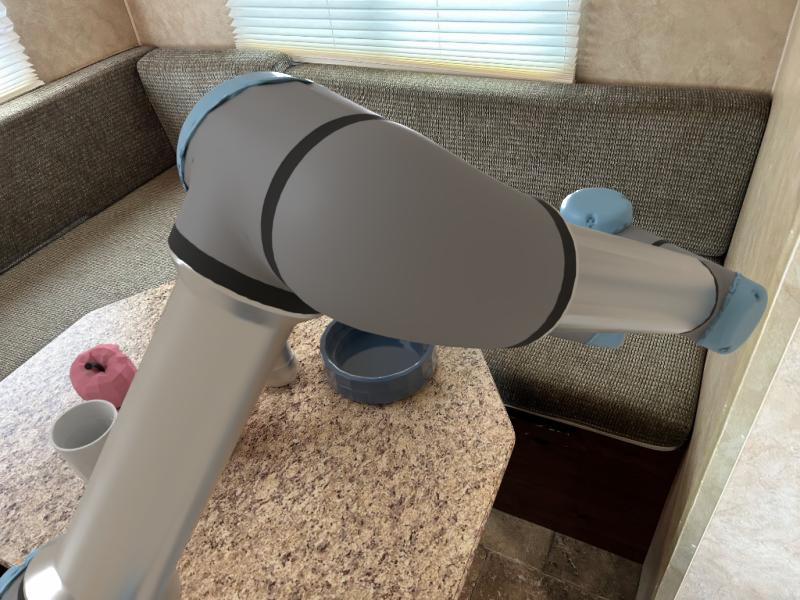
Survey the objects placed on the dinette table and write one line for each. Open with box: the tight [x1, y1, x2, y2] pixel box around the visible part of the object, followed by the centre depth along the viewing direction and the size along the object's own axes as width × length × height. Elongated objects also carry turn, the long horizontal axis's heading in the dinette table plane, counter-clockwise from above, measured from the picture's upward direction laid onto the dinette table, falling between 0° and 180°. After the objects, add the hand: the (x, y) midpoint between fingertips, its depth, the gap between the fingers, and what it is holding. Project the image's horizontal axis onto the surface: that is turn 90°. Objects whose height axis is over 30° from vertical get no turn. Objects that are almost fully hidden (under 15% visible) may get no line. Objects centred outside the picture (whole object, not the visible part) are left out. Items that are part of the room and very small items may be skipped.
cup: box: [48, 400, 119, 485], centre depth 78 cm, size 8×8×12 cm
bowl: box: [319, 319, 438, 405], centre depth 94 cm, size 18×18×6 cm
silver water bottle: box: [265, 339, 299, 388], centre depth 89 cm, size 6×7×20 cm
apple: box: [68, 343, 138, 409], centre depth 91 cm, size 10×9×10 cm
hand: (341, 262), depth 86 cm, fingers closed on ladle, 2 cm apart
